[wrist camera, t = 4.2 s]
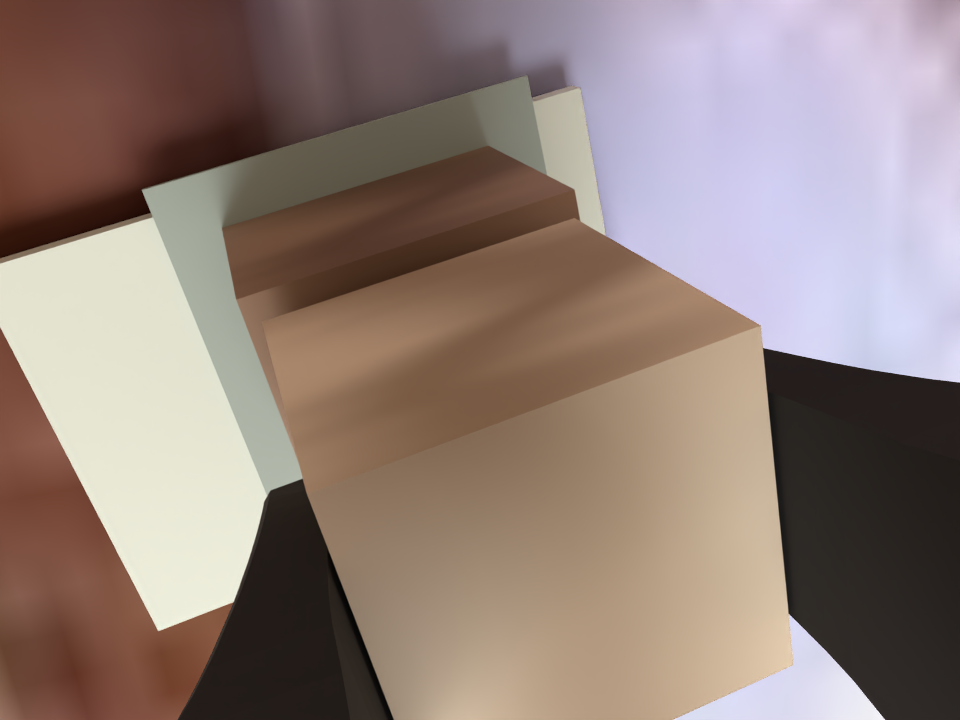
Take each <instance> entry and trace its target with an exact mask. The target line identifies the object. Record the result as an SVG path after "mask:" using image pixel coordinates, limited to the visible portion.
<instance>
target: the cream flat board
mask: <svg viewBox="0 0 960 720" xmlns="http://www.w3.org/2000/svg"><path fill="white" fill-rule="evenodd" d="M485 146H490V147H492V148H494V149H496V150H498V151H500V152H502V153H504V154H506V155H508V156H510V157H512V158H514V159H516V160H518V161H520V162H522V163H524V164H526V165H528V166H530V167H532V168H533V169H535V170H537V171H539V172H541V173H543V174H545V175H547V176H549V177H551V178H553V179H555V180H557V181H559V182H561V183H563V184H565V185H567V186H569V187H571V188H573V189H575V194H576V200H577V205H578V211H579V216H580V221H581V222H582V223H584V224H586V225H587V226H589V227H591V228H593V229H594V230H596V231H598V232H600V233H601V234H603V235H605V236H606V233H605V228H604V222H603V216H602V210H601V205H600V199H599V193H598V187H597V181H596V176H595V170H594V164H593V158H592V153H591V147H590V141H589V135H588V129H587V124H586V118H585V112H584V106H583V101H582V95H581V89H580V87H576V86H569V87H565V88H562V89H559V90H555V91H552V92H549V93H545V94H542V95H539V96H536V97H532V96H531V91H530V86H529V81H528V76H527V75H524V76H521V77H518V78H514V79H511V80H508V81H504V82H501V83H498V84H494V85H491V86H487V87H484V88H481V89H477V90H474V91H471V92H467V93H464V94H460V95H457V96H454V97H450V98H447V99H444V100H440V101H437V102H434V103H430V104H427V105H423V106H420V107H417V108H413V109H410V110H407V111H403V112H400V113H397V114H393V115H390V116H386V117H383V118H380V119H376V120H373V121H370V122H366V123H363V124H359V125H356V126H353V127H349V128H346V129H343V130H339V131H336V132H333V133H329V134H326V135H322V136H319V137H316V138H312V139H309V140H306V141H302V142H299V143H295V144H292V145H289V146H285V147H282V148H279V149H275V150H272V151H269V152H265V153H262V154H258V155H255V156H252V157H248V158H245V159H242V160H238V161H235V162H232V163H228V164H225V165H221V166H218V167H215V168H211V169H208V170H205V171H201V172H198V173H194V174H191V175H188V176H184V177H181V178H178V179H174V180H171V181H168V182H164V183H161V184H157V185H154V186H151V187H147V188H144V189H142V192H143V194H144V197H145V199H146V202H147V204H148V207H149V209H150V211H151V213H149V214H145V215H142V216H139V217H135V218H132V219H129V220H125V221H122V222H119V223H115V224H112V225H109V226H106V227H102V228H99V229H96V230H92V231H89V232H86V233H82V234H79V235H76V236H72V237H69V238H66V239H63V240H59V241H56V242H53V243H49V244H46V245H43V246H39V247H36V248H33V249H29V250H26V251H23V252H20V253H16V254H13V255H10V256H6V257H3V258H0V327H1V329H2V331H3V333H4V335H5V337H6V339H7V341H8V343H9V345H10V347H11V349H12V351H13V352H14V354H15V356H16V358H17V360H18V362H19V364H20V366H21V368H22V370H23V372H24V374H25V375H26V377H27V379H28V381H29V383H30V385H31V387H32V389H33V391H34V393H35V395H36V397H37V399H38V400H39V402H40V404H41V406H42V408H43V410H44V412H45V414H46V416H47V418H48V420H49V422H50V424H51V425H52V427H53V429H54V431H55V433H56V435H57V437H58V439H59V441H60V443H61V445H62V447H63V448H64V450H65V452H66V454H67V456H68V458H69V460H70V462H71V464H72V466H73V468H74V470H75V472H76V473H77V475H78V477H79V479H80V481H81V483H82V485H83V487H84V489H85V491H86V493H87V495H88V497H89V498H90V500H91V502H92V504H93V506H94V508H95V510H96V512H97V514H98V516H99V518H100V520H101V522H102V523H103V525H104V527H105V529H106V531H107V533H108V535H109V537H110V539H111V541H112V543H113V545H114V546H115V548H116V550H117V552H118V554H119V556H120V558H121V560H122V562H123V564H124V566H125V568H126V570H127V571H128V573H129V575H130V577H131V579H132V581H133V583H134V585H135V587H136V589H137V591H138V593H139V595H140V596H141V598H142V600H143V602H144V604H145V606H146V608H147V610H148V612H149V614H150V616H151V618H152V619H153V621H154V623H155V625H156V627H157V629H158V631H160V630H162V629H165V628H168V627H170V626H173V625H175V624H178V623H180V622H183V621H186V620H188V619H191V618H193V617H196V616H198V615H201V614H204V613H206V612H209V611H211V610H214V609H216V608H219V607H222V606H224V605H227V604H229V603H232V602H234V600H235V597H236V594H237V591H238V589H239V586H240V583H241V580H242V577H243V574H244V572H245V569H246V566H247V563H248V560H249V557H250V554H251V551H252V547H253V544H254V541H255V537H256V534H257V530H258V526H259V523H260V519H261V514H262V510H263V505H264V501H265V499H266V497H267V496H268V494H269V492H270V490H273V489H276V488H278V487H281V486H284V485H287V484H289V483H292V482H295V481H297V480H300V479H303V477H302V473H301V470H300V466H299V463H298V460H297V457H296V455H295V452H294V449H293V447H292V444H291V442H290V439H289V436H288V434H287V431H286V429H285V426H284V423H283V421H282V418H281V416H280V413H279V410H278V408H277V405H276V402H275V400H274V397H273V395H272V392H271V389H270V387H269V384H268V382H267V379H266V376H265V374H264V371H263V369H262V366H261V363H260V361H259V358H258V355H257V353H256V350H255V348H254V345H253V342H252V340H251V337H250V335H249V332H248V329H247V327H246V324H245V321H244V319H243V316H242V314H241V311H240V308H239V306H238V303H237V301H236V296H235V292H234V287H233V282H232V277H231V272H230V267H229V262H228V257H227V252H226V247H225V242H224V237H223V232H222V228H224V227H227V226H230V225H234V224H237V223H240V222H243V221H247V220H250V219H253V218H256V217H259V216H263V215H266V214H269V213H272V212H276V211H279V210H282V209H285V208H288V207H292V206H295V205H298V204H301V203H305V202H308V201H311V200H314V199H317V198H321V197H324V196H327V195H330V194H334V193H337V192H340V191H343V190H347V189H350V188H353V187H356V186H359V185H363V184H366V183H369V182H372V181H376V180H379V179H382V178H385V177H388V176H392V175H395V174H398V173H401V172H405V171H408V170H411V169H414V168H418V167H421V166H424V165H427V164H430V163H434V162H437V161H440V160H443V159H447V158H450V157H453V156H456V155H459V154H463V153H466V152H469V151H472V150H476V149H479V148H482V147H485Z"/></svg>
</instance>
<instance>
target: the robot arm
mask: <svg viewBox="0 0 960 720" xmlns="http://www.w3.org/2000/svg"><path fill="white" fill-rule="evenodd" d="M763 355H764V365H765V375H766V386H767V396H768V406H769V417H770V427H771V437H772V448H773V458H774V468H775V479H776V489H777V499H778V510H779V520H780V530H781V541H782V551H783V561H784V572H785V582H786V592H787V603H788V613H789V614H790V615H791V616H792V617H793V618H794V619H795V620H796V621H797V622H798V623H799V624H800V625H801V626H802V627H803V628H804V629H805V630H806V631H807V632H808V633H809V634H810V635H811V636H812V637H813V638H814V639H815V640H816V641H817V642H818V643H819V644H820V645H821V646H822V647H823V648H824V649H825V650H826V651H827V652H828V653H829V654H830V655H831V657H832V658H833V659H834V660H835V661H836V662H837V663H838V664H839V665H840V666H841V667H842V669H843V670H844V671H845V672H846V673H847V674H848V675H849V676H850V677H851V678H852V679H853V681H854V682H855V683H856V684H857V685H858V687H859V688H860V689H861V690H862V692H863V693H864V694H865V695H866V697H867V698H868V699H869V700H870V702H871V703H872V704H873V705H874V706H875V708H876V709H877V710H878V711H879V713H880V714H881V715H882V716H883V718H884V719H885V720H960V383H958V382H949V381H941V380H933V379H925V378H919V377H912V376H906V375H899V374H893V373H887V372H880V371H874V370H868V369H863V368H857V367H852V366H847V365H841V364H836V363H831V362H826V361H821V360H816V359H812V358H807V357H802V356H797V355H792V354H788V353H783V352H778V351H774V350H769V349H764V348H763ZM178 720H394V719H393V716H392V714H391V711H390V708H389V706H388V703H387V701H386V698H385V695H384V693H383V690H382V688H381V685H380V682H379V680H378V677H377V675H376V672H375V669H374V667H373V664H372V662H371V659H370V656H369V654H368V651H367V649H366V646H365V643H364V641H363V638H362V636H361V633H360V630H359V628H358V625H357V623H356V620H355V617H354V615H353V612H352V610H351V607H350V605H349V602H348V599H347V597H346V594H345V592H344V589H343V586H342V584H341V581H340V579H339V576H338V573H337V571H336V568H335V566H334V563H333V560H332V558H331V555H330V553H329V550H328V547H327V545H326V542H325V540H324V537H323V534H322V532H321V529H320V527H319V524H318V521H317V519H316V516H315V514H314V511H313V508H312V506H311V503H310V501H309V498H308V496H307V492H306V489H305V485H304V481H303V479H300V480H297V481H295V482H292V483H289V484H287V485H284V486H281V487H278V488H276V489H273V490H270V492H269V494H268V496H267V497H266V499H265V501H264V505H263V510H262V514H261V519H260V523H259V526H258V530H257V534H256V537H255V541H254V544H253V547H252V551H251V554H250V557H249V560H248V563H247V566H246V569H245V572H244V574H243V577H242V580H241V583H240V586H239V589H238V591H237V594H236V597H235V600H234V602H233V605H232V608H231V610H230V613H229V615H228V617H227V620H226V622H225V624H224V626H223V629H222V631H221V633H220V636H219V638H218V640H217V642H216V645H215V647H214V649H213V652H212V654H211V656H210V658H209V661H208V663H207V665H206V667H205V669H204V671H203V673H202V675H201V677H200V679H199V681H198V683H197V685H196V687H195V689H194V691H193V693H192V695H191V697H190V698H189V700H188V702H187V704H186V706H185V708H184V709H183V711H182V713H181V715H180V717H179V718H178Z"/></svg>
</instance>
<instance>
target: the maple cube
mask: <svg viewBox="0 0 960 720" xmlns="http://www.w3.org/2000/svg"><path fill="white" fill-rule="evenodd" d="M262 325H263V329H264V333H265V336H266V340H267V344H268V348H269V352H270V355H271V359H272V363H273V367H274V371H275V374H276V378H277V382H278V386H279V390H280V393H281V397H282V401H283V405H284V409H285V412H286V416H287V420H288V424H289V428H290V432H291V435H292V439H293V443H294V447H295V451H296V454H297V458H298V462H299V466H300V470H301V473H302V477H303V481H304V485H305V489H306V492H307V496H308V498H309V501H310V503H311V506H312V508H313V511H314V514H315V516H316V519H317V521H318V524H319V527H320V529H321V532H322V534H323V537H324V540H325V542H326V545H327V547H328V550H329V553H330V555H331V558H332V560H333V563H334V566H335V568H336V571H337V573H338V576H339V579H340V581H341V584H342V586H343V589H344V592H345V594H346V597H347V599H348V602H349V605H350V607H351V610H352V612H353V615H354V617H355V620H356V623H357V625H358V628H359V630H360V633H361V636H362V638H363V641H364V643H365V646H366V649H367V651H368V654H369V656H370V659H371V662H372V664H373V667H374V669H375V672H376V675H377V677H378V680H379V682H380V685H381V688H382V690H383V693H384V695H385V698H386V701H387V703H388V706H389V708H390V711H391V714H392V716H393V719H394V720H673V719H675V718H678V717H680V716H682V715H684V714H686V713H689V712H691V711H693V710H695V709H697V708H700V707H702V706H704V705H706V704H708V703H711V702H713V701H715V700H717V699H719V698H722V697H724V696H726V695H728V694H730V693H733V692H735V691H737V690H739V689H741V688H744V687H746V686H748V685H750V684H752V683H755V682H757V681H759V680H761V679H764V678H766V677H768V676H770V675H772V674H775V673H777V672H779V671H781V670H783V669H786V668H788V667H790V666H792V665H793V654H792V644H791V634H790V623H789V613H788V603H787V592H786V582H785V572H784V561H783V551H782V541H781V530H780V520H779V510H778V499H777V489H776V479H775V468H774V458H773V448H772V437H771V427H770V417H769V406H768V396H767V386H766V375H765V365H764V355H763V344H762V334H761V325H759V324H757V323H755V322H754V321H752V320H750V319H748V318H747V317H745V316H743V315H741V314H740V313H738V312H736V311H735V310H733V309H731V308H729V307H728V306H726V305H724V304H722V303H721V302H719V301H717V300H716V299H714V298H712V297H710V296H709V295H707V294H705V293H703V292H702V291H700V290H698V289H696V288H695V287H693V286H691V285H690V284H688V283H686V282H684V281H683V280H681V279H679V278H677V277H676V276H674V275H672V274H671V273H669V272H667V271H665V270H664V269H662V268H660V267H658V266H657V265H655V264H653V263H651V262H650V261H648V260H646V259H645V258H643V257H641V256H639V255H638V254H636V253H634V252H632V251H631V250H629V249H627V248H625V247H624V246H622V245H620V244H619V243H617V242H615V241H613V240H612V239H610V238H608V237H606V236H605V235H603V234H601V233H600V232H598V231H596V230H594V229H593V228H591V227H589V226H587V225H586V224H584V223H582V222H580V221H579V220H577V219H575V218H573V219H570V220H567V221H564V222H561V223H558V224H555V225H552V226H549V227H546V228H543V229H540V230H537V231H534V232H531V233H528V234H525V235H522V236H519V237H516V238H513V239H510V240H507V241H504V242H501V243H498V244H495V245H492V246H489V247H486V248H483V249H480V250H477V251H474V252H471V253H468V254H465V255H462V256H459V257H456V258H452V259H449V260H446V261H443V262H440V263H437V264H434V265H431V266H428V267H425V268H422V269H419V270H416V271H413V272H410V273H407V274H404V275H401V276H398V277H395V278H392V279H389V280H386V281H383V282H380V283H377V284H374V285H371V286H368V287H365V288H362V289H359V290H356V291H353V292H350V293H347V294H344V295H341V296H338V297H335V298H332V299H329V300H326V301H323V302H320V303H317V304H314V305H311V306H308V307H305V308H302V309H299V310H296V311H293V312H290V313H287V314H284V315H281V316H278V317H275V318H272V319H269V320H266V321H263V322H262Z"/></svg>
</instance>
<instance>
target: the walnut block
mask: <svg viewBox="0 0 960 720" xmlns="http://www.w3.org/2000/svg"><path fill="white" fill-rule="evenodd" d="M573 218H575V219H577V220H579V221H580V216H579V211H578V205H577V200H576V194H575V189H573V188H571V187H569V186H567V185H565V184H563V183H561V182H559V181H557V180H555V179H553V178H551V177H549V176H547V175H545V174H543V173H541V172H539V171H537V170H535V169H533V168H532V167H530V166H528V165H526V164H524V163H522V162H520V161H518V160H516V159H514V158H512V157H510V156H508V155H506V154H504V153H502V152H500V151H498V150H496V149H494V148H492V147H490V146H485V147H482V148H479V149H476V150H472V151H469V152H466V153H463V154H459V155H456V156H453V157H450V158H447V159H443V160H440V161H437V162H434V163H430V164H427V165H424V166H421V167H418V168H414V169H411V170H408V171H405V172H401V173H398V174H395V175H392V176H388V177H385V178H382V179H379V180H376V181H372V182H369V183H366V184H363V185H359V186H356V187H353V188H350V189H347V190H343V191H340V192H337V193H334V194H330V195H327V196H324V197H321V198H317V199H314V200H311V201H308V202H305V203H301V204H298V205H295V206H292V207H288V208H285V209H282V210H279V211H276V212H272V213H269V214H266V215H263V216H259V217H256V218H253V219H250V220H247V221H243V222H240V223H237V224H234V225H230V226H227V227H224V228H222V232H223V237H224V242H225V247H226V252H227V257H228V262H229V267H230V272H231V277H232V282H233V287H234V292H235V296H236V301H237V303H238V306H239V308H240V311H241V314H242V316H243V319H244V321H245V324H246V327H247V329H248V332H249V335H250V337H251V340H252V342H253V345H254V348H255V350H256V353H257V355H258V358H259V361H260V363H261V366H262V369H263V371H264V374H265V376H266V379H267V382H268V384H269V387H270V389H271V392H272V395H273V397H274V400H275V402H276V405H277V408H278V410H279V413H280V416H281V418H282V421H283V423H284V426H285V429H286V431H287V434H288V436H289V439H290V442H291V444H292V447H293V449H294V452H295V455H296V457H297V454H296V451H295V447H294V443H293V439H292V435H291V432H290V428H289V424H288V420H287V416H286V412H285V409H284V405H283V401H282V397H281V393H280V390H279V386H278V382H277V378H276V374H275V371H274V367H273V363H272V359H271V355H270V352H269V348H268V344H267V340H266V336H265V333H264V329H263V325H262V322H263V321H266V320H269V319H272V318H275V317H278V316H281V315H284V314H287V313H290V312H293V311H296V310H299V309H302V308H305V307H308V306H311V305H314V304H317V303H320V302H323V301H326V300H329V299H332V298H335V297H338V296H341V295H344V294H347V293H350V292H353V291H356V290H359V289H362V288H365V287H368V286H371V285H374V284H377V283H380V282H383V281H386V280H389V279H392V278H395V277H398V276H401V275H404V274H407V273H410V272H413V271H416V270H419V269H422V268H425V267H428V266H431V265H434V264H437V263H440V262H443V261H446V260H449V259H452V258H456V257H459V256H462V255H465V254H468V253H471V252H474V251H477V250H480V249H483V248H486V247H489V246H492V245H495V244H498V243H501V242H504V241H507V240H510V239H513V238H516V237H519V236H522V235H525V234H528V233H531V232H534V231H537V230H540V229H543V228H546V227H549V226H552V225H555V224H558V223H561V222H564V221H567V220H570V219H573ZM580 222H581V221H580ZM297 460H298V458H297ZM298 463H299V462H298Z"/></svg>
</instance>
